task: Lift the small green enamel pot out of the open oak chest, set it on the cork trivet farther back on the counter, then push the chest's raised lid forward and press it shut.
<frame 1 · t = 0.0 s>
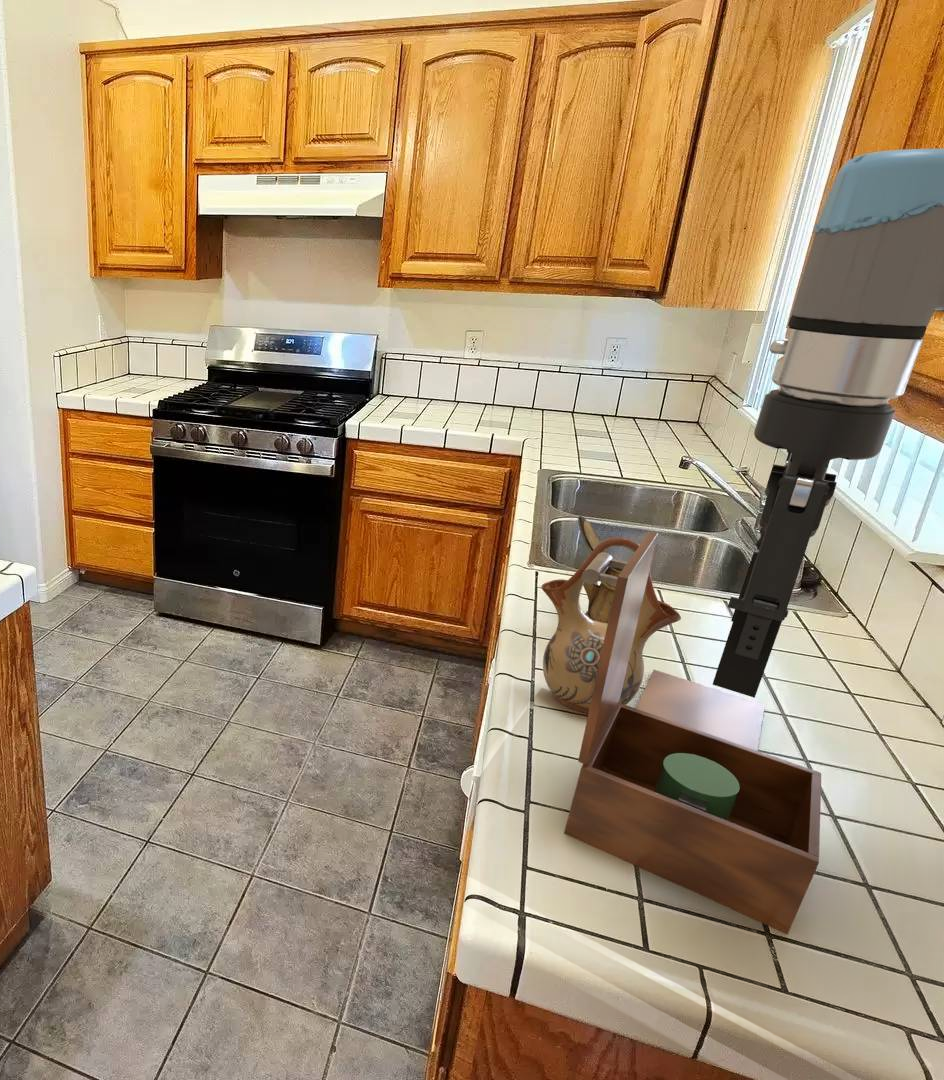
hand: (741, 654, 61), 28 cm above the countertop, tool pointing down, fingers open, 13 cm apart
ceramic vessel: (581, 708, 103), on the countertop
wooden mug: (598, 626, 126), on the countertop
chest: (677, 841, 80), on the countertop
trivet: (699, 711, 103), on the countertop
chest lid: (599, 639, 79), point 20 cm above the countertop, hinge at 92.0°
pot: (679, 835, 80), point 1 cm above the countertop, touching chest
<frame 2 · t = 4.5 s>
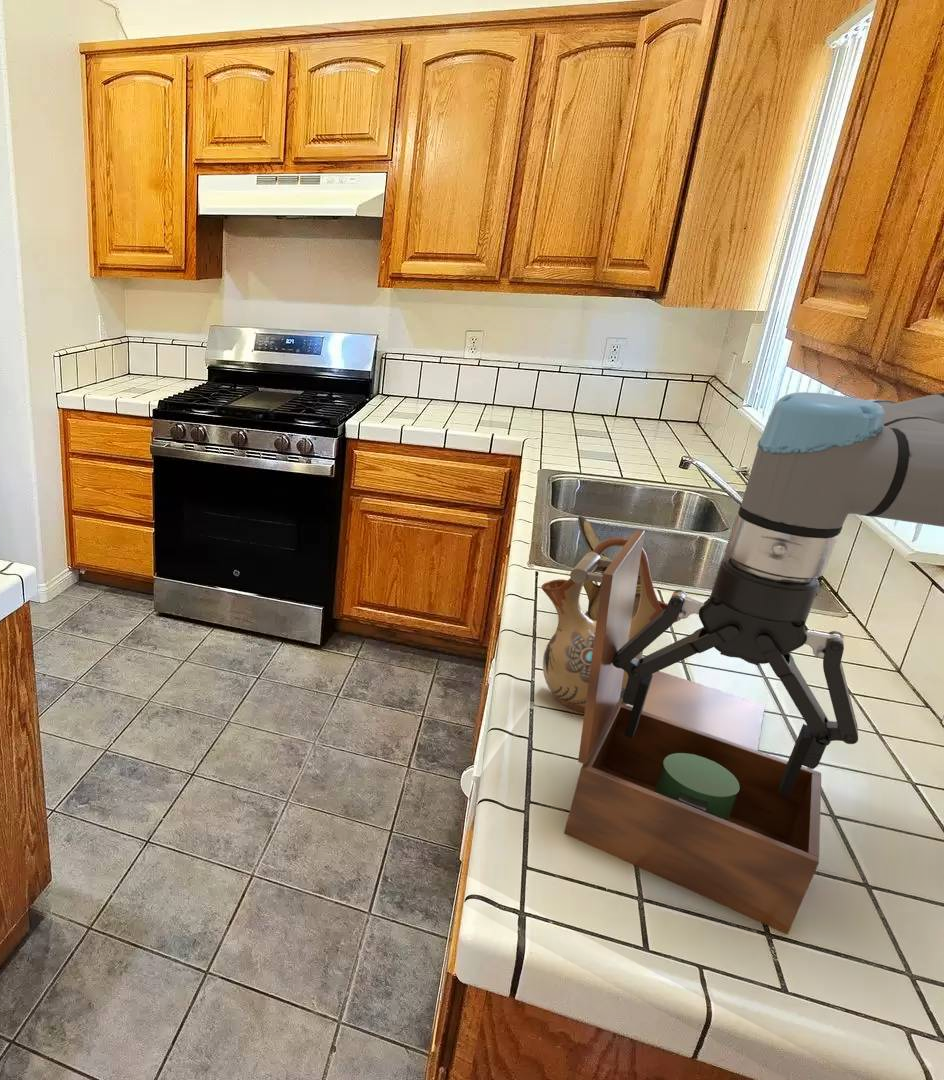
hand: (703, 758, 76), 11 cm above the countertop, tool pointing down, fingers open, 13 cm apart
chest lid: (592, 638, 80), point 20 cm above the countertop, hinge at 95.6°, touching gripper
everything else where it was.
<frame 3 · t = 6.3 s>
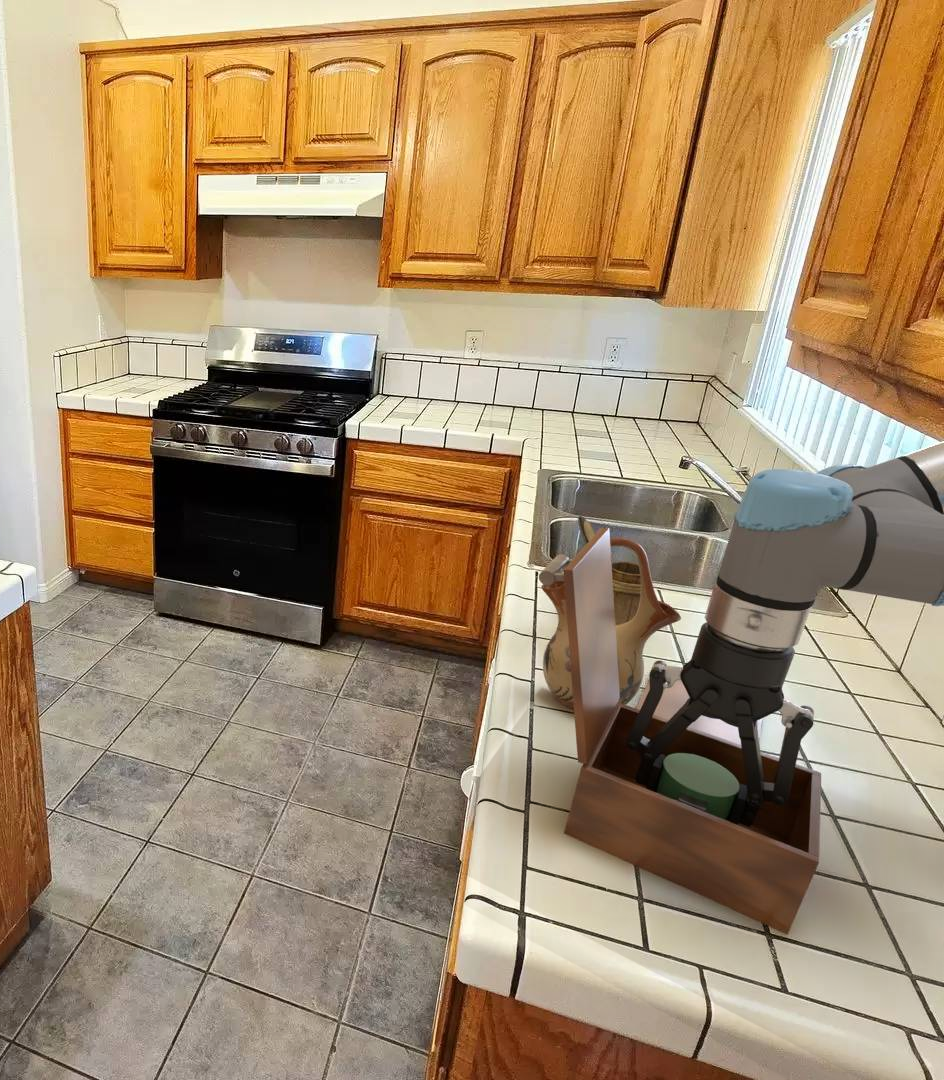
hand: (683, 825, 79), 2 cm above the countertop, tool pointing down, fingers closed on pot, 7 cm apart
chest lid: (575, 638, 81), point 19 cm above the countertop, hinge at 105.3°
pot: (679, 835, 80), point 1 cm above the countertop, touching chest, gripper
everything else where it was.
when the fingers open (2 cm above the countertop, at t = 17.2 s): pot stays where it is, resting on trivet.
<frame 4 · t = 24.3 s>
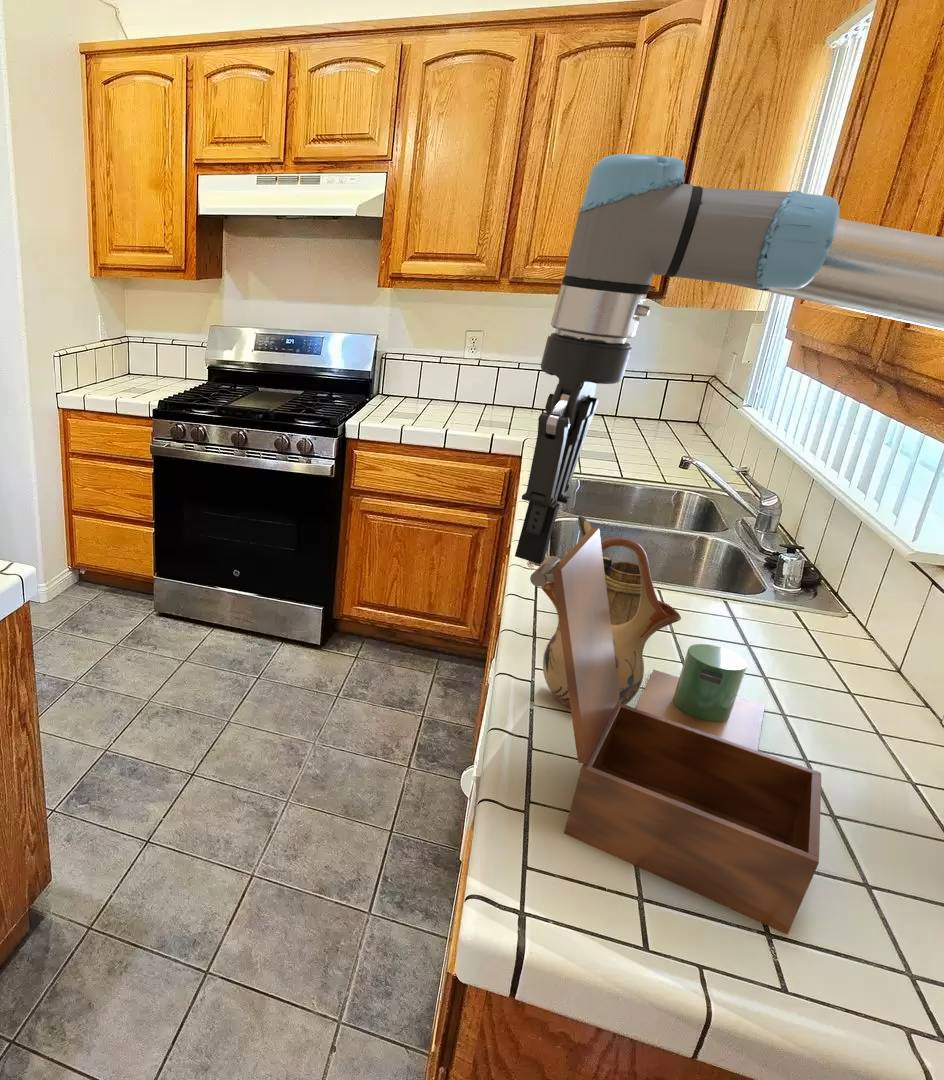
hand: (529, 558, 82), 27 cm above the countertop, tool pointing down, fingers closed
chest lid: (570, 639, 81), point 19 cm above the countertop, hinge at 108.1°, touching gripper
pot: (700, 707, 103), point 1 cm above the countertop, touching trivet
everything else where it was.
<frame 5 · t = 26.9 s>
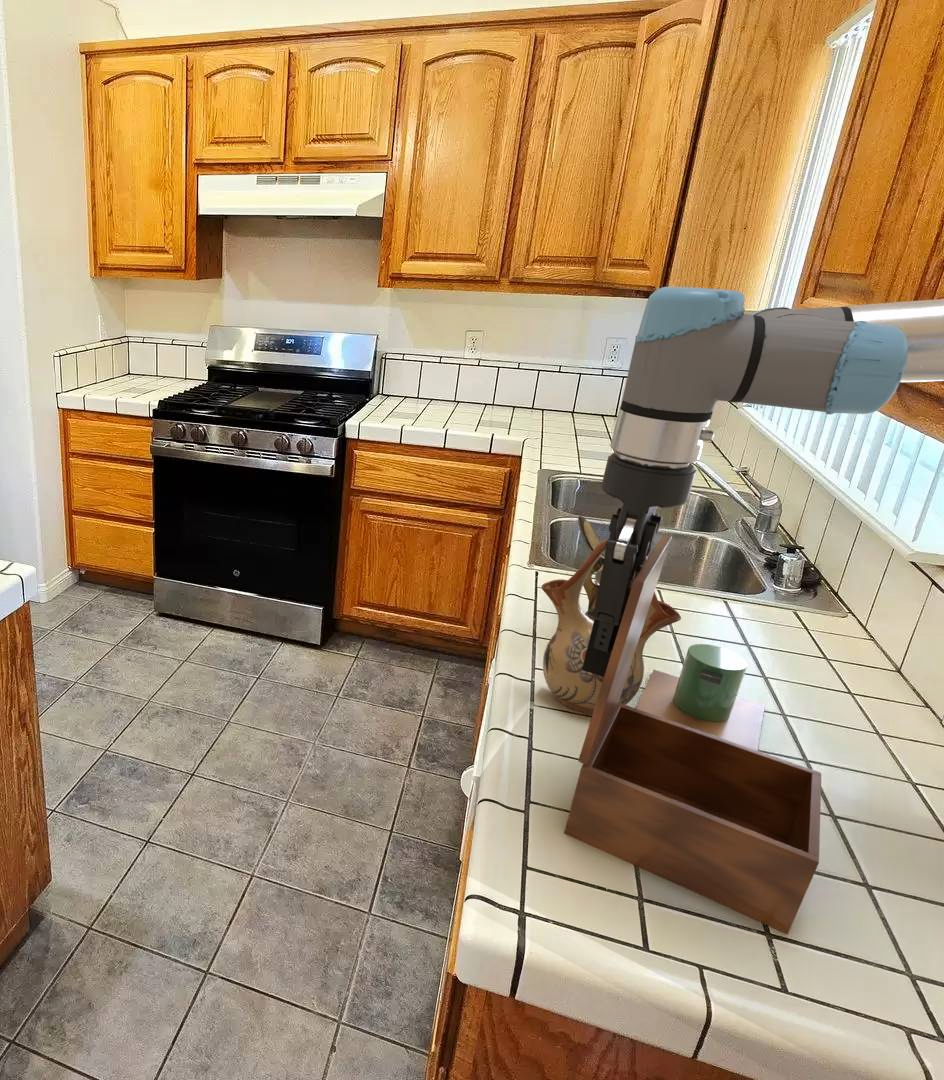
hand: (596, 671, 80), 16 cm above the countertop, tool pointing down, fingers closed
chest lid: (606, 640, 79), point 20 cm above the countertop, hinge at 88.2°, touching gripper
everything else where it was.
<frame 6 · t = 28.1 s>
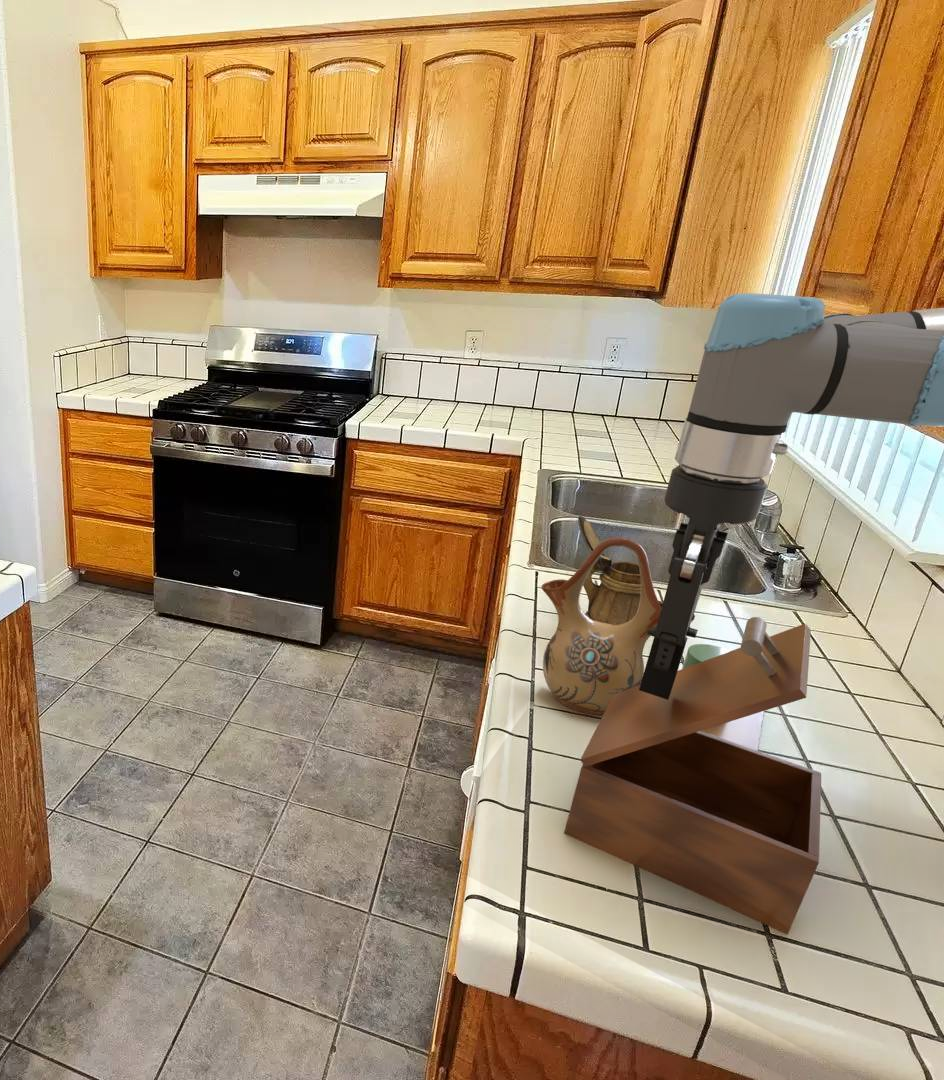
hand: (654, 691, 77), 16 cm above the countertop, tool pointing down, fingers closed
chest lid: (682, 679, 75), point 18 cm above the countertop, hinge at 45.2°, touching gripper
everything else where it was.
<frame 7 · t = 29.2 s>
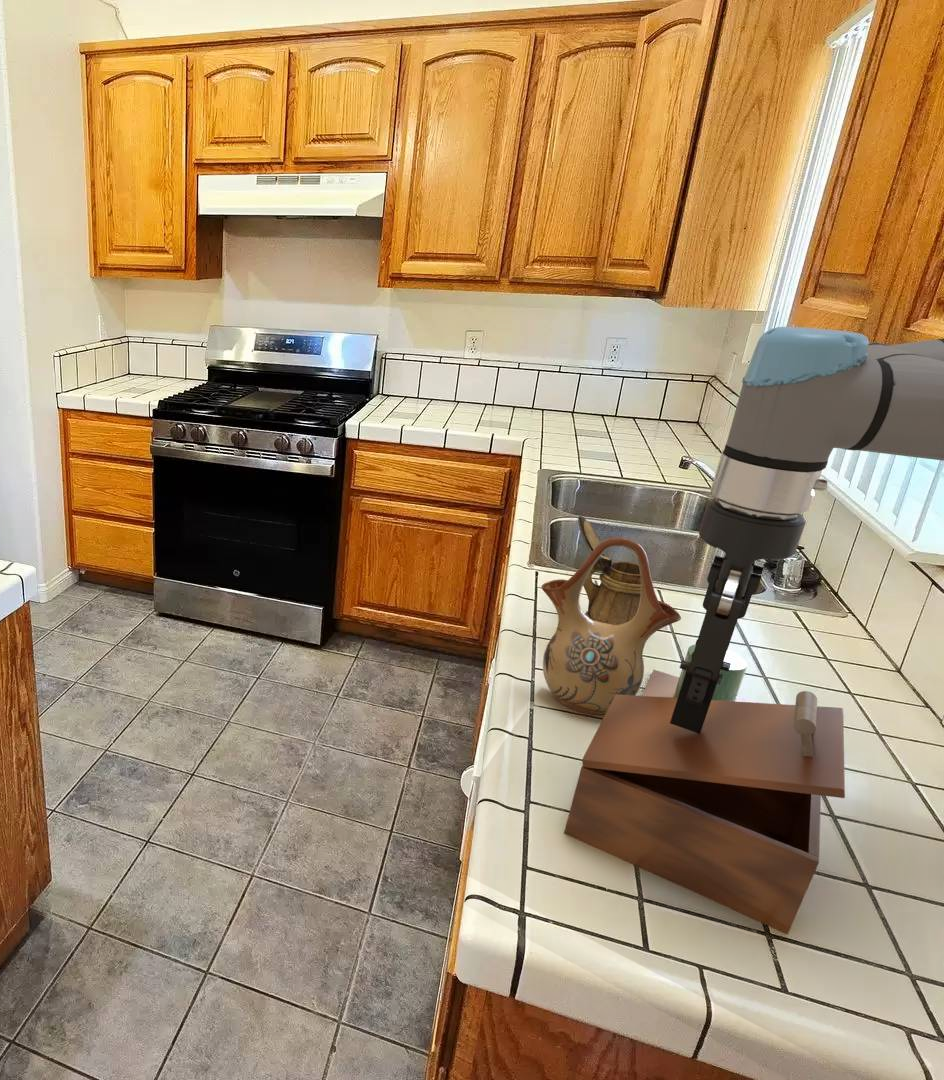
hand: (685, 725, 76), 14 cm above the countertop, tool pointing down, fingers closed
chest lid: (709, 720, 75), point 15 cm above the countertop, hinge at 19.4°, touching gripper
everything else where it was.
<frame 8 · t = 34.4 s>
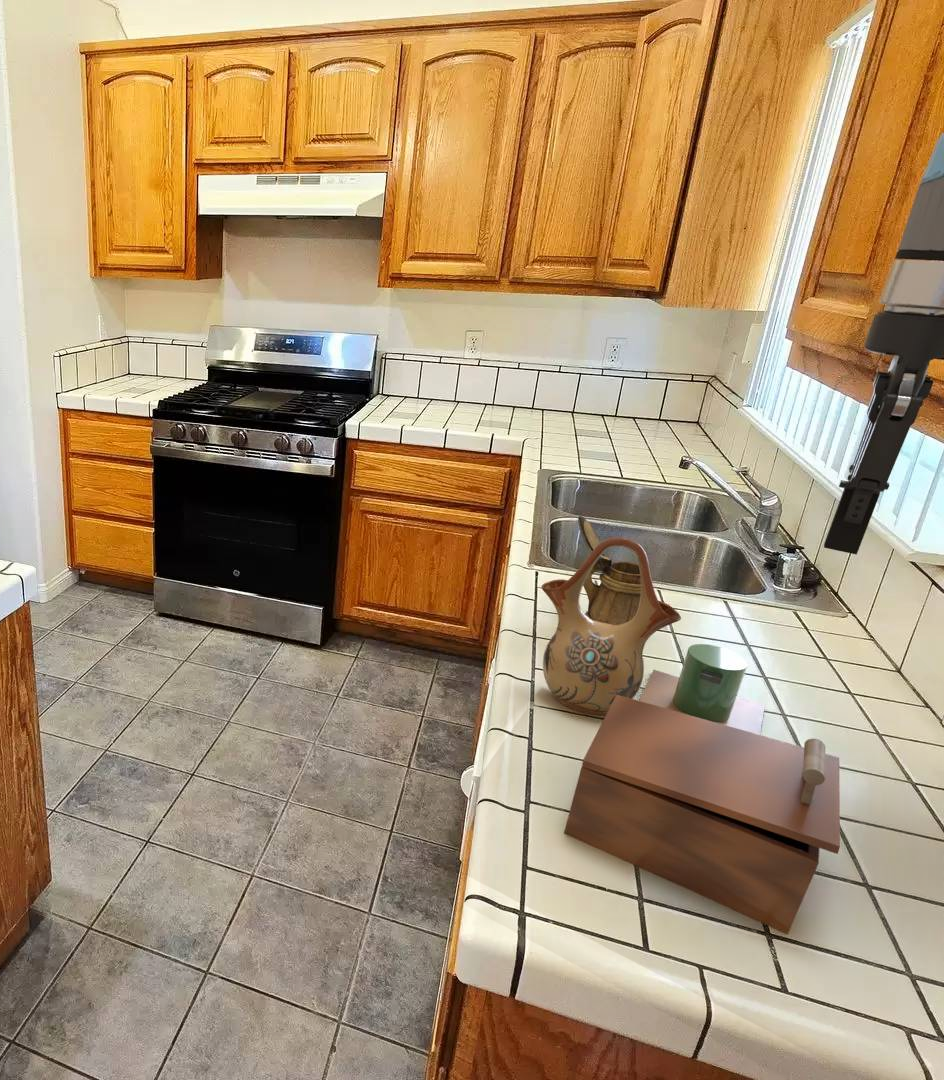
hand: (840, 548, 78), 30 cm above the countertop, tool pointing down, fingers closed
chest lid: (714, 746, 75), point 12 cm above the countertop, hinge at 4.0°
everything else where it was.
at the end: pot inside the target area on the trivet (0.0 cm from its centre), point 0.6 cm above the trivet's base; pot tilted 0°; chest lid at +4° (first picture: +92°) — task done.
